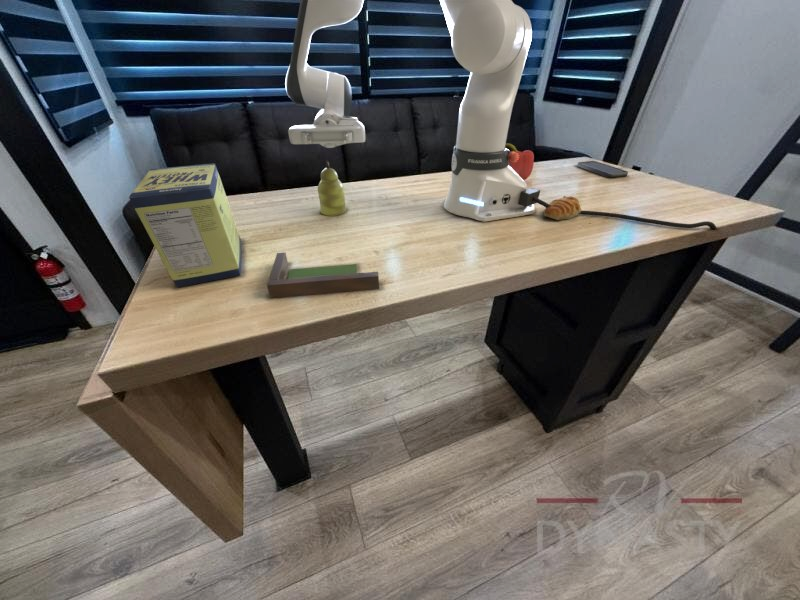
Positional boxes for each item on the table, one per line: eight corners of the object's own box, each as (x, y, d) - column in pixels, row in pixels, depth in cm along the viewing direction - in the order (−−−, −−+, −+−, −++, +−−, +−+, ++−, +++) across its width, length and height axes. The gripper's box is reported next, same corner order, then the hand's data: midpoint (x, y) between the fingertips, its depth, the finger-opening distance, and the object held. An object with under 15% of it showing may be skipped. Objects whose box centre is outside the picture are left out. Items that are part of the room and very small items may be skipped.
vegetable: (487, 179, 100) (493, 145, 94) (506, 173, 106) (512, 140, 100) (518, 188, 94) (526, 151, 88) (536, 180, 99) (545, 145, 93)
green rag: (356, 264, 59) (356, 264, 59) (357, 284, 54) (357, 284, 54) (289, 270, 58) (289, 269, 58) (284, 291, 53) (284, 290, 53)
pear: (346, 205, 83) (340, 156, 76) (346, 214, 78) (340, 163, 71) (321, 207, 82) (314, 157, 75) (320, 216, 77) (312, 164, 70)
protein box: (241, 239, 68) (215, 161, 58) (242, 276, 56) (210, 187, 47) (186, 248, 64) (149, 167, 55) (175, 289, 53) (126, 196, 44)
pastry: (561, 224, 73) (566, 208, 71) (535, 215, 77) (539, 200, 75) (581, 214, 78) (586, 199, 76) (555, 206, 82) (560, 192, 80)
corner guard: (373, 257, 61) (373, 246, 60) (379, 288, 53) (378, 276, 52) (280, 264, 59) (276, 252, 58) (270, 298, 51) (266, 285, 50)
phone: (610, 174, 100) (576, 162, 112) (609, 178, 101) (575, 165, 113) (630, 172, 102) (594, 160, 114) (628, 175, 103) (593, 163, 114)
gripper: (289, 118, 89) (282, 127, 78) (362, 117, 91) (365, 125, 80) (293, 143, 93) (287, 154, 82) (364, 141, 95) (367, 152, 84)
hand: (327, 140), depth 81 cm, fingers open, 8 cm apart
